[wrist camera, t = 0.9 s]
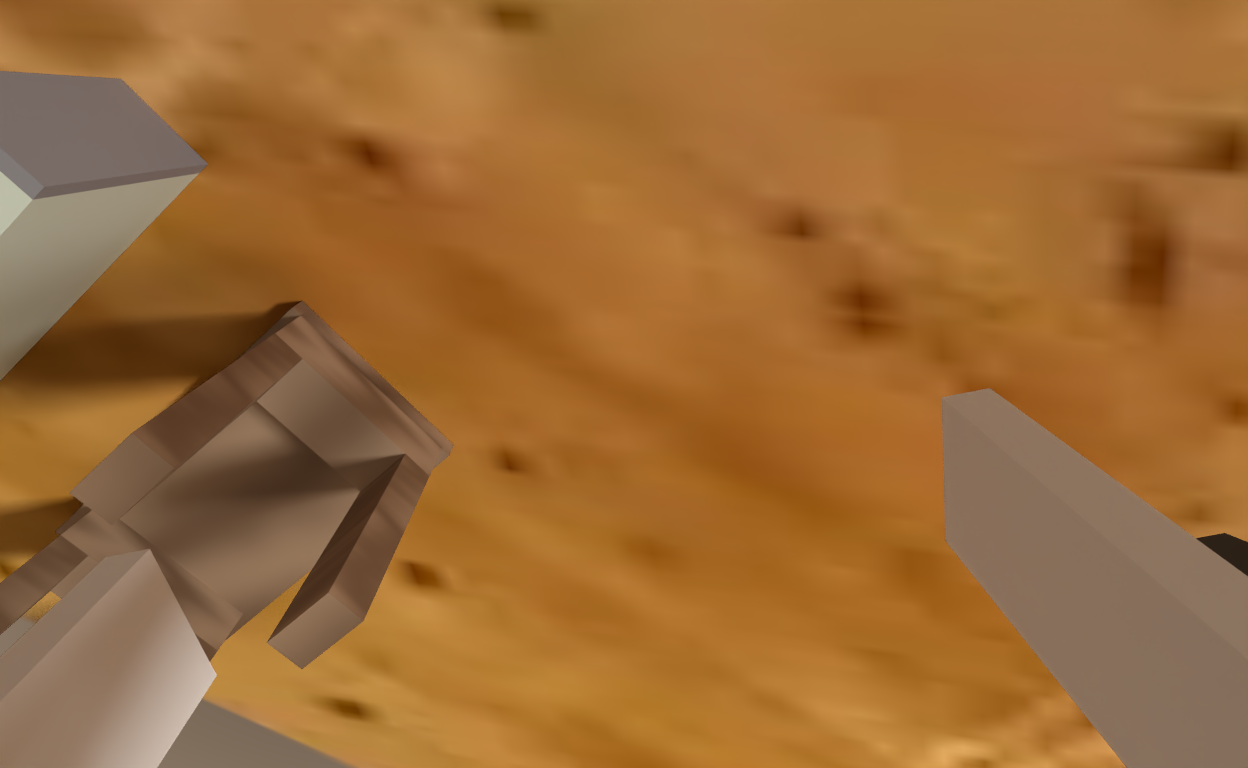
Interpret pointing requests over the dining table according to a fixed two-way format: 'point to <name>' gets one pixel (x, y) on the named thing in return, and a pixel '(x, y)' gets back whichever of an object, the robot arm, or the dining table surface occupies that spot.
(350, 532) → the u-shaped post stand
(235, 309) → the dining table surface
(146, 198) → the cream rectangular block
